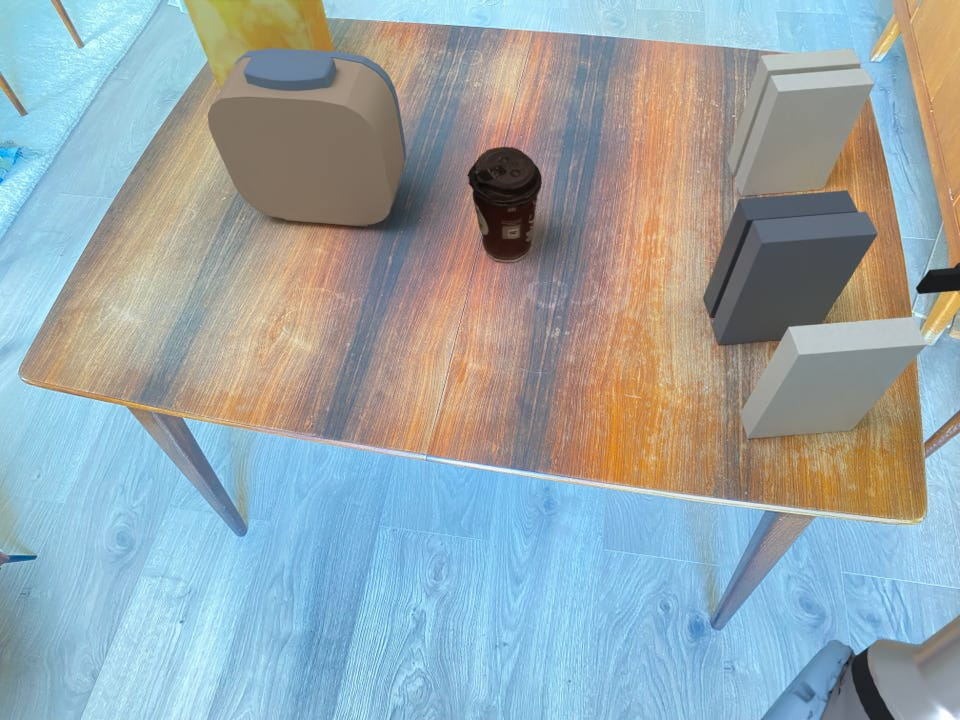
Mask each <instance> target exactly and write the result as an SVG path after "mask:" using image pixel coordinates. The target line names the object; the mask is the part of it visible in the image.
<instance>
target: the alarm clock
mask: <svg viewBox="0 0 960 720" xmlns="http://www.w3.org/2000/svg"><path fill="white" fill-rule="evenodd" d="M207 123H208V129H209V131H210V134H211V137H212V139H213V142H214V144H215V146H216V149H217V150H218V153H219V155H220V158H221V159H222V162H223V163H224V166H225V168H226V171H227V172H228V174H229V177H230V180H231V183H233V185H234V187H235V189H236V191H237V192H238V193H239V195H240V196H241V197H242V198H243V200H244V201H245V202H246V203H247V204H248V205H250V206H251V207H252V208H253V209H254V210H257V211H258V212H260V213H262V214H265V215H267V216H269V217H274V218H278V219H283V220H285V221H287V222H289V221H290V222H300V223H313V224H326V225H338V226H339V225H340V226H350V227H351V226H352V227H355V226H356V227H365V228H368V226H369V225H376V224H377V223H379V222H382V221H384V220H385V219H386V218H387V217H388V216H389V214H390V212H391V208H392V206H393V203H394V199H395V196H396V193H397V190H398V186H399V183H400V180H401V177H402V173H403V171H404V168H405V163H406V159H407V146H406V140H405V133H404V128H403V122H402V115H401V110H400V104H399V98H398V95H397V91H396V87H395V85H394V82H393V81H392V79H391V78H390V76H389V73H387V72H386V70H384V68H383V67H382V66H381V65H380V64H378V63H377V62H375V61H373V60H372V59H370V58H368V57H367V56H365V55H359V54H354V53H349V52H344V51H339V50H338V51H337V50H334V51H318V50H297V49H276V48H270V49H261V50H252V51H248V52H246V53H245V54H244V55H242V56H241V57H240V58H239V59H238V60H237V62H236V63H235V65H234V67H233V68H232V70H231V72H230V74H229V75H228V77H227V79H226V81H225V82H224V84H223V86H222V88H221V89H220V88H219V92H218V93H217V95H216V96H215V98H214V100H213V102H212V104H211V105H210V108H209V110H208V112H207Z"/></svg>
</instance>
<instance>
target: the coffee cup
mask: <svg viewBox="0 0 960 720" xmlns="http://www.w3.org/2000/svg"><path fill="white" fill-rule="evenodd" d="M467 178H468V185H469V186H470V187H471V189H472V200H473V205H474V206H473V207H474V210H475V214H476V219H477V224H478V228H479V231H480V233H481V236H482V238H481V239H482V240H481V241H482V245H483V250H484V251H485V252H486V254H487V256H488V257H490V258H492V259H493V261H495V262H500V263H501V262H502V263H504V264H505V263H506V264H508V263H515V262H518V261H522V259H523V258H525V257H526V255H528V253H529V252H530V251H531V248H532V241H533V232H534V227H535V218H536V210H537V203H538V196H539V193H540V191H541V189H542V184H543V181H542V179H543V177H542V174H541V171H540V169H539V167H538V166H537V165H536V163H534V161H533V159H532V158H531V157H530V156H528V155H527V154H526V153H525V152H523V151H522V150H520V149H518V148H516V147H513V146H500V147H499V146H496V147H493V148H489V149H486V150H485V152H483V153H481V154H480V156H478V157H477V160H476V161H475V162H474V164H473V165H472V166H471V168H470V169H469V170H468V172H467Z"/></svg>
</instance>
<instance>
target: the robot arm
mask: <svg viewBox="0 0 960 720" xmlns="http://www.w3.org/2000/svg"><path fill="white" fill-rule="evenodd" d="M915 290H916V292H917V293H918V295H922V294H923V295H925V294H937V293H949V292H960V262H957V263H956V264H955V266H954V267H946V268H935V269H934V268H933V269H929V270H928V271H927V272H926V274H925V275H924V276H923V278H922V279H921V280H920V281H919V282H918V284H917V285H916V287H915ZM760 720H960V614H959V615H957V616H956V617H954V618H953V619H952V620H951V621H949V622H948V623H946V625H944V626H943V627H941V628H940V629H939V630H937V631H936V632H934V633H933V634H932V635H930V636H929V637H928V638H927V639H926V640H924V641H922V642H921V643H912V642H907V641H903V640H902V641H901V640H895V639H891V638H880V639H876V640H875V641H874V642H872V643H871V644H870V645H868V646H867V647H866V648H864V649H863V650H862V651H861V652H860V653H858V654H856V653H855V649H853V648H852V647H851V646H850V645H848V644H844V643H843V642H842V641H841V640H838V639H831V640H829V641H827V643H826V644H825V645H824V646H823V647H822V648H820V650H819V651H818V652H817V653H816V654H815V655H814V656H813V657H812V658H811V659H810V660H809V661H808V662H807V663H806V664H805V666H804V667H803V668H802V669H801V670H800V672H798V674H797V675H796V676H795V677H794V678H793V679H792V680H791V682H790V683H789V684H788V685H787V686H786V688H785V689H784V690H783V691H782V693H781V694H780V695H779V696H778V697H777V699H776V700H775V701H774V702H773V704H772V705H771V706H770V707H769V708H768V710H766V712H765V713H764V715H763V716H762V717H761V718H760Z"/></svg>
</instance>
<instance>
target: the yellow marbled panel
mask: <svg viewBox="0 0 960 720" xmlns="http://www.w3.org/2000/svg"><path fill="white" fill-rule="evenodd" d="M183 3H184V6H185V8H186V10H187V13H188V15H189V17H190V20H191V22H192V24H193V27H194V30H195V32H196V34H197V37H198V39H199V42H200V44H201V46H202V49H203V51H204V54H205V56H206V58H207V61H208V64H209V66H210V69H211V71H212V73H213V76H214V78H215V81H216V84H217V85H218V88H219V90H220V89H221V88H222V86H223V84H224V82H225V81H226V79H227V77H228V75H229V74H230V72H231V70H232V68H233V67H234V65H235V63H236V62H237V60H238V59H239V58H240V57H241V56H242V55H244V54H245V53H246V52H248V51H252V50H261V49H270V48H276V49H297V50H318V51H335V49H334V44H333V40H332V37H331V32H330V28H329V27H330V26H329V23H328V20H327V15H326V10H325V7H324V3H323V0H183Z"/></svg>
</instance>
